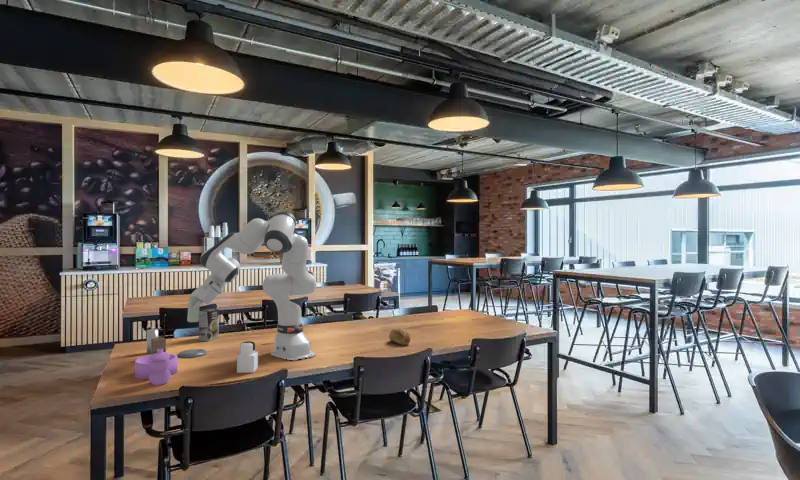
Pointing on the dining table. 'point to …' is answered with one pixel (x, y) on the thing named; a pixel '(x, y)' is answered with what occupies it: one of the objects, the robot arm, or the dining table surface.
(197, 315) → the sage block
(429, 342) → the dining table surface
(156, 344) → the walnut block
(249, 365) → the medicine bottle
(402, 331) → the bread roll
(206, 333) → the coffee box
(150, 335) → the pewter tin
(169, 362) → the container set
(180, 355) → the disc
